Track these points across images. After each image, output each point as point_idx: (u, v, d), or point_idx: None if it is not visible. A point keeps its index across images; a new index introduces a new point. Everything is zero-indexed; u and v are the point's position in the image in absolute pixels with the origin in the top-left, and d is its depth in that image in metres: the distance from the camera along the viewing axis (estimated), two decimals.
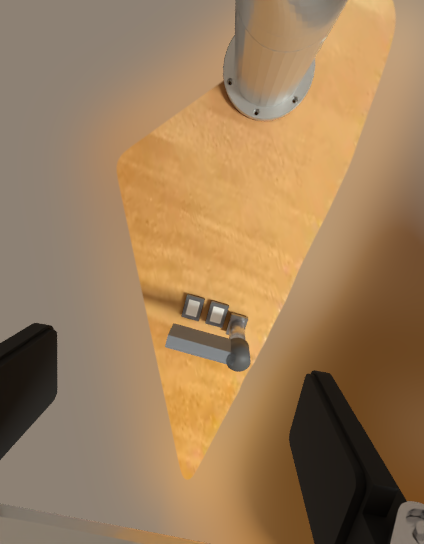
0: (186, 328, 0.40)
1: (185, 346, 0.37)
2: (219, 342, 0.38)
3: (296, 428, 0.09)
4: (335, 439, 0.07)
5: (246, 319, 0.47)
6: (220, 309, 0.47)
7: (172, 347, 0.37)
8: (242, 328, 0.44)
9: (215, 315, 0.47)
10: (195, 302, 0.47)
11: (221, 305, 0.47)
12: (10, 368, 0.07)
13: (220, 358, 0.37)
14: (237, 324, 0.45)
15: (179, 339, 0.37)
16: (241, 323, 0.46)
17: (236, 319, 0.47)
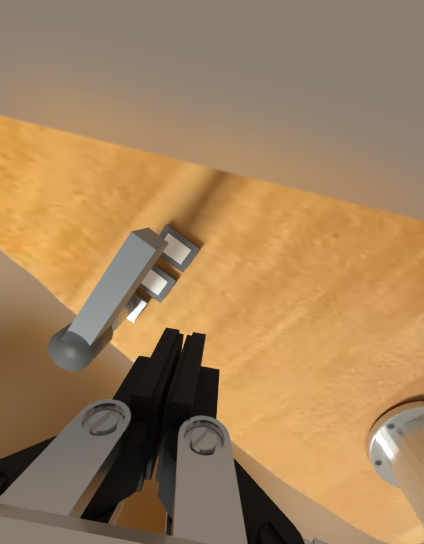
0: (152, 264, 0.21)
1: (120, 273, 0.18)
2: (112, 319, 0.21)
3: None
4: (174, 377, 0.08)
5: (132, 319, 0.30)
6: (159, 289, 0.29)
7: (125, 245, 0.18)
8: None
9: (152, 278, 0.29)
10: (182, 256, 0.28)
11: (165, 292, 0.30)
12: (172, 368, 0.08)
13: (81, 324, 0.19)
14: (129, 313, 0.28)
15: (139, 266, 0.18)
16: None
17: (137, 306, 0.30)
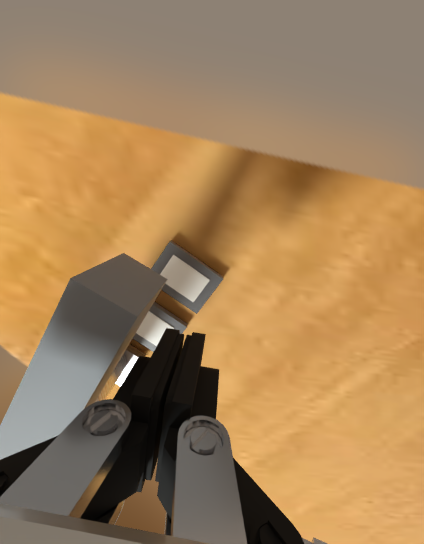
0: (139, 325, 0.11)
1: (60, 373, 0.08)
2: None
3: None
4: (173, 377, 0.08)
5: (122, 383, 0.20)
6: None
7: (62, 313, 0.07)
8: None
9: (149, 323, 0.19)
10: (196, 290, 0.18)
11: None
12: (172, 368, 0.08)
13: None
14: (116, 381, 0.18)
15: (103, 357, 0.07)
16: None
17: (127, 365, 0.20)
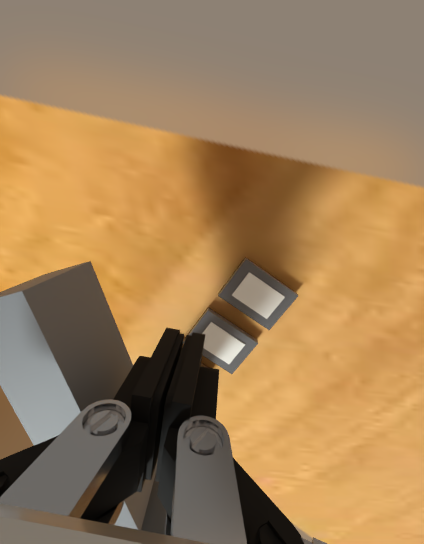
0: (105, 314, 0.10)
1: (32, 388, 0.08)
2: None
3: None
4: (173, 377, 0.08)
5: None
6: (231, 355, 0.19)
7: None
8: None
9: (220, 340, 0.19)
10: (270, 307, 0.18)
11: (240, 360, 0.19)
12: (172, 368, 0.08)
13: None
14: None
15: (40, 347, 0.07)
16: None
17: None
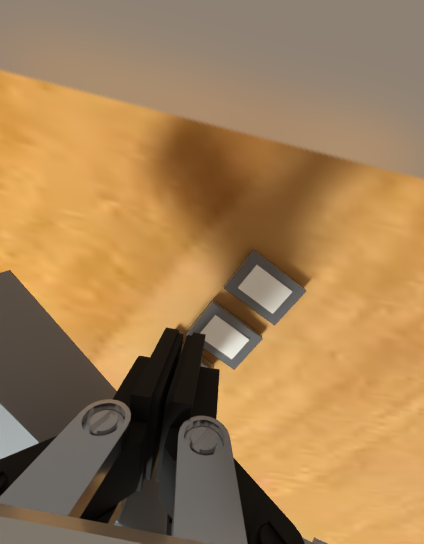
0: (38, 316, 0.10)
1: None
2: None
3: None
4: (174, 378, 0.08)
5: None
6: (234, 350, 0.19)
7: None
8: None
9: (224, 334, 0.18)
10: (277, 301, 0.18)
11: (243, 355, 0.19)
12: (172, 368, 0.08)
13: None
14: None
15: None
16: None
17: None
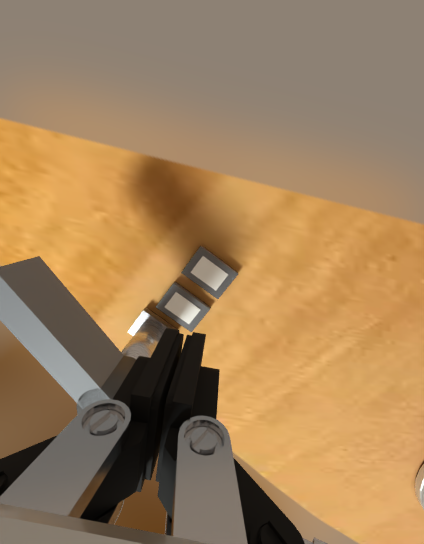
0: (55, 282, 0.18)
1: (16, 318, 0.15)
2: (95, 351, 0.17)
3: None
4: (174, 378, 0.08)
5: None
6: (190, 317, 0.26)
7: None
8: None
9: (182, 306, 0.26)
10: (218, 281, 0.25)
11: (197, 321, 0.26)
12: (172, 368, 0.08)
13: (72, 385, 0.16)
14: None
15: (11, 294, 0.15)
16: None
17: None
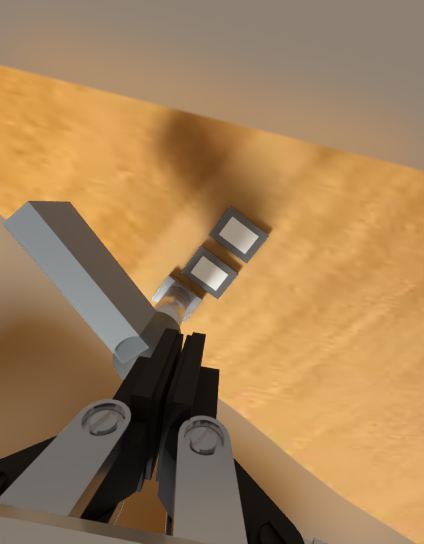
0: (87, 229, 0.17)
1: (50, 257, 0.14)
2: (130, 300, 0.16)
3: None
4: (174, 377, 0.08)
5: (184, 319, 0.26)
6: (217, 283, 0.25)
7: (18, 237, 0.14)
8: None
9: (209, 270, 0.25)
10: (248, 244, 0.24)
11: (224, 287, 0.25)
12: (172, 368, 0.08)
13: (109, 333, 0.15)
14: None
15: (46, 230, 0.14)
16: None
17: (190, 304, 0.25)
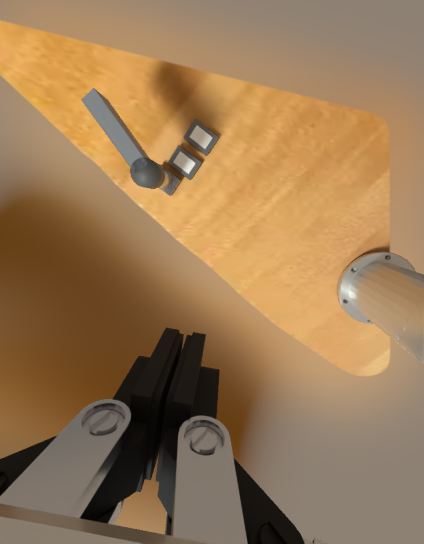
0: (116, 113, 0.33)
1: (102, 116, 0.31)
2: (138, 147, 0.33)
3: None
4: (174, 378, 0.08)
5: (169, 193, 0.42)
6: (189, 168, 0.41)
7: (88, 106, 0.30)
8: (164, 186, 0.40)
9: (184, 160, 0.41)
10: (206, 143, 0.41)
11: (193, 172, 0.42)
12: (172, 368, 0.08)
13: (128, 156, 0.32)
14: (169, 182, 0.40)
15: (101, 102, 0.30)
16: (168, 187, 0.41)
17: (173, 182, 0.42)
